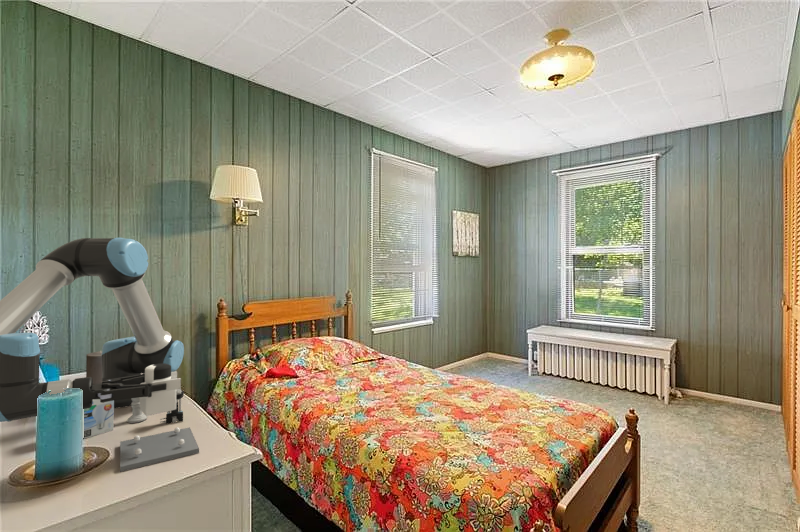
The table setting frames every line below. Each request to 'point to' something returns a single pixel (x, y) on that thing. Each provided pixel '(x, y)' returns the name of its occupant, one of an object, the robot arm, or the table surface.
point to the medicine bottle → (160, 399)
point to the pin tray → (157, 448)
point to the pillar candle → (94, 366)
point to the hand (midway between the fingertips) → (178, 379)
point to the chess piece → (136, 412)
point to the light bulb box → (98, 418)
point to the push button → (175, 414)
